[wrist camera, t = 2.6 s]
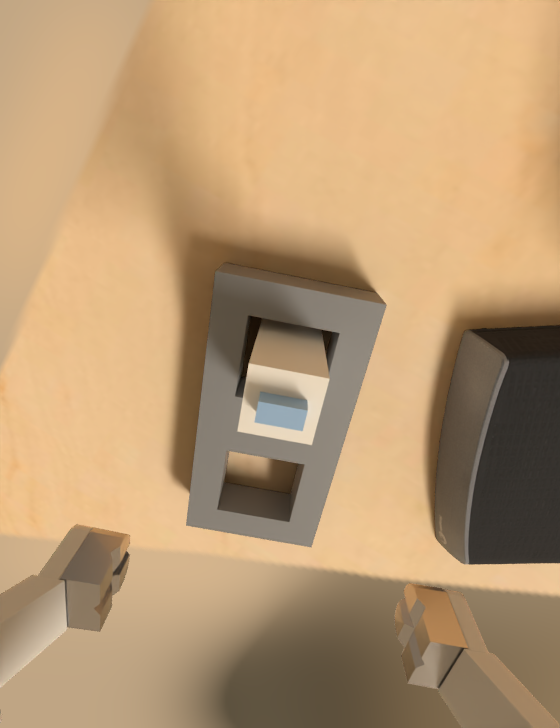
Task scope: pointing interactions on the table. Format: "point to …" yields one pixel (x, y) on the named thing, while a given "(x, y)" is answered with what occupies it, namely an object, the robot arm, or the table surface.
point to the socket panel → (226, 389)
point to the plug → (285, 383)
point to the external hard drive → (502, 449)
